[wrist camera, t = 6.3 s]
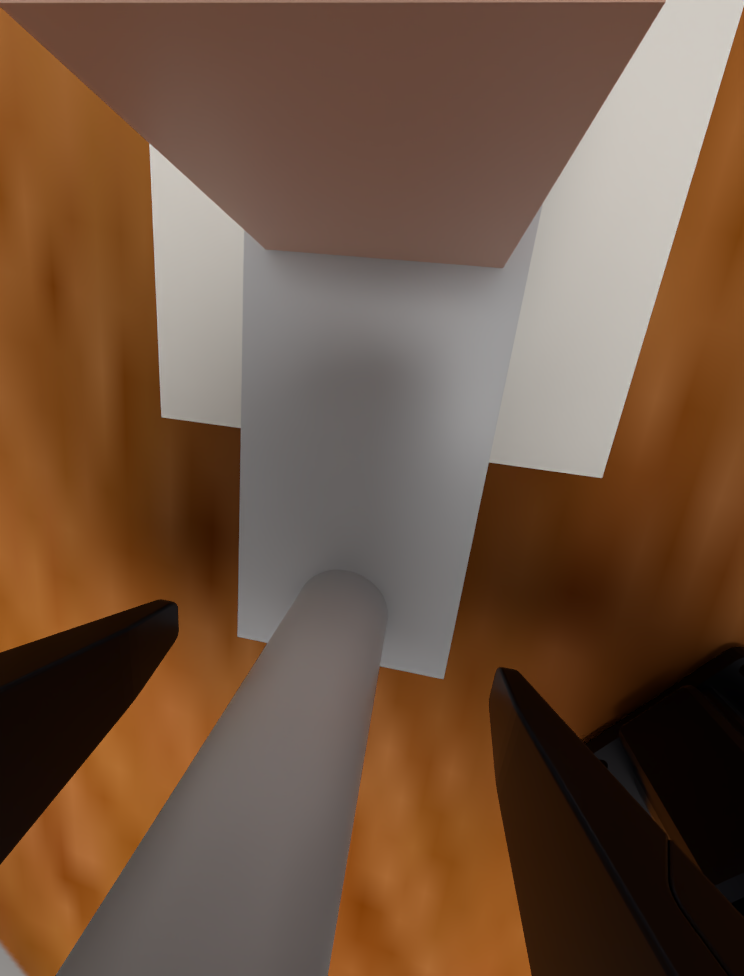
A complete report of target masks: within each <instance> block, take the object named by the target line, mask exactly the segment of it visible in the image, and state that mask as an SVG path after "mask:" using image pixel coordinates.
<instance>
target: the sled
mask: <svg viewBox="0 0 744 976" xmlns="http://www.w3.org/2000/svg"><path fill="white" fill-rule="evenodd" d="M665 2H666V0H0V7H1V8H2V9H3V10H4V11H6V12H7V13H8V14H9V15H10V16H11V17H12V18H13V19H14V20H15V21H16V22H18V23H19V24H20V25H21V26H22V27H23V28H24V29H25V30H26V31H27V32H29V33H30V34H31V35H32V36H33V37H34V38H35V39H36V40H37V41H38V42H39V43H41V44H42V45H43V46H44V47H45V48H46V49H47V50H48V51H49V52H50V53H51V54H53V55H54V56H55V57H56V58H57V59H58V60H59V61H60V62H61V63H62V64H63V65H65V66H66V67H67V68H68V69H69V70H70V71H71V72H72V73H73V74H74V75H75V76H77V77H78V78H79V79H80V80H81V81H82V82H83V83H84V84H85V85H86V86H88V87H89V88H90V89H91V90H92V91H93V92H94V93H95V94H96V95H97V96H98V97H100V98H101V99H102V100H103V101H104V102H105V103H106V104H107V105H108V106H109V107H110V108H112V109H113V110H114V111H115V112H116V113H117V114H118V115H119V116H120V117H121V118H122V119H124V120H125V121H126V122H127V123H128V124H129V125H130V126H131V127H132V128H133V129H135V130H136V131H137V132H138V133H139V134H140V135H141V136H142V137H143V138H144V139H145V140H147V141H148V142H149V143H150V144H151V145H152V146H153V147H154V148H155V149H156V150H157V151H159V152H160V153H161V154H162V155H163V156H164V157H165V158H166V159H167V160H168V161H169V162H171V163H172V164H173V165H174V166H175V167H176V168H177V169H178V170H179V171H180V172H182V173H183V174H184V175H185V176H186V177H187V178H188V179H189V180H190V181H191V182H192V183H194V184H195V185H196V186H197V187H198V188H199V189H200V190H201V191H202V192H203V193H204V194H206V195H207V196H208V197H209V198H210V199H211V200H212V201H213V202H214V203H215V204H216V205H218V206H219V207H220V208H221V209H222V210H223V211H224V212H225V213H226V214H227V215H229V216H230V217H231V218H232V219H233V220H234V221H235V222H236V223H237V224H238V225H239V226H241V227H242V228H243V229H244V263H243V326H242V388H241V451H240V514H239V576H238V637H241V638H246V639H251V640H256V641H261V642H266V643H267V645H266V646H265V648H264V649H263V651H262V653H261V654H260V656H259V657H258V659H257V660H256V662H255V664H254V665H253V667H252V668H251V670H250V671H249V673H248V675H247V676H246V678H245V679H244V681H243V682H242V684H241V686H240V687H239V689H238V690H237V692H236V693H235V695H234V697H233V698H232V700H231V701H230V703H229V704H228V706H227V708H226V709H225V711H224V712H223V714H222V715H221V717H220V719H219V720H218V722H217V723H216V725H215V726H214V728H213V730H212V731H211V733H210V734H209V736H208V737H207V739H206V741H205V742H204V744H203V745H202V747H201V748H200V750H199V752H198V753H197V755H196V756H195V758H194V759H193V761H192V762H191V764H190V766H189V767H188V769H187V770H186V772H185V773H184V775H183V777H182V778H181V780H180V781H179V783H178V784H177V786H176V788H175V789H174V791H173V792H172V794H171V795H170V797H169V799H168V800H167V802H166V803H165V805H164V806H163V808H162V810H161V811H160V813H159V814H158V816H157V817H156V819H155V821H154V822H153V824H152V825H151V827H150V828H149V830H148V832H147V833H146V835H145V836H144V838H143V839H142V841H141V843H140V844H139V846H138V847H137V849H136V850H135V852H134V854H133V855H132V857H131V858H130V860H129V861H128V863H127V864H126V866H125V868H124V869H123V871H122V872H121V874H120V875H119V877H118V879H117V880H116V882H115V883H114V885H113V886H112V888H111V890H110V891H109V893H108V894H107V896H106V897H105V899H104V901H103V902H102V904H101V905H100V907H99V908H98V910H97V912H96V913H95V915H94V916H93V918H92V919H91V921H90V923H89V924H88V926H87V927H86V929H85V930H84V932H83V934H82V935H81V937H80V938H79V940H78V941H77V943H76V945H75V946H74V948H73V949H72V951H71V952H70V954H69V956H68V957H67V959H66V960H65V962H64V963H63V965H62V967H61V968H60V970H59V971H58V973H57V974H56V976H328V970H329V965H330V959H331V953H332V947H333V941H334V935H335V929H336V923H337V917H338V911H339V905H340V899H341V893H342V887H343V881H344V875H345V870H346V864H347V858H348V852H349V846H350V840H351V834H352V828H353V822H354V816H355V810H356V804H357V798H358V792H359V786H360V780H361V774H362V769H363V763H364V757H365V751H366V745H367V739H368V733H369V727H370V721H371V715H372V709H373V703H374V697H375V691H376V685H377V679H378V674H379V668H380V666H382V667H386V668H391V669H396V670H401V671H406V672H411V673H416V674H420V675H425V676H430V677H435V678H440V679H444V675H445V670H446V665H447V660H448V656H449V651H450V646H451V641H452V636H453V632H454V627H455V622H456V617H457V612H458V608H459V603H460V598H461V593H462V588H463V584H464V579H465V574H466V569H467V564H468V560H469V555H470V550H471V545H472V540H473V536H474V531H475V526H476V521H477V516H478V512H479V507H480V502H481V497H482V492H483V488H484V483H485V478H486V473H487V468H488V464H489V459H490V454H491V449H492V444H493V440H494V435H495V430H496V425H497V420H498V416H499V411H500V406H501V401H502V396H503V392H504V387H505V382H506V377H507V372H508V368H509V363H510V358H511V353H512V348H513V344H514V339H515V334H516V329H517V324H518V320H519V315H520V310H521V305H522V300H523V296H524V291H525V286H526V281H527V276H528V272H529V267H530V262H531V257H532V252H533V248H534V243H535V238H536V233H537V228H538V224H539V219H540V214H541V209H542V204H543V202H544V200H545V199H546V197H547V195H548V194H549V192H550V190H551V189H552V187H553V186H554V184H555V182H556V181H557V179H558V177H559V176H560V174H561V172H562V171H563V169H564V167H565V166H566V164H567V163H568V161H569V159H570V158H571V156H572V154H573V153H574V151H575V149H576V148H577V146H578V145H579V143H580V141H581V140H582V138H583V136H584V135H585V133H586V131H587V130H588V128H589V127H590V125H591V123H592V122H593V120H594V118H595V117H596V115H597V113H598V112H599V110H600V108H601V107H602V105H603V104H604V102H605V100H606V99H607V97H608V95H609V94H610V92H611V90H612V89H613V87H614V86H615V84H616V82H617V81H618V79H619V77H620V76H621V74H622V72H623V71H624V69H625V68H626V66H627V64H628V63H629V61H630V59H631V58H632V56H633V54H634V53H635V51H636V50H637V48H638V46H639V45H640V43H641V41H642V40H643V38H644V36H645V35H646V33H647V31H648V30H649V28H650V27H651V25H652V23H653V22H654V20H655V18H656V17H657V15H658V13H659V12H660V10H661V9H662V7H663V5H664V4H665Z"/></svg>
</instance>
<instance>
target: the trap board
mask: <svg viewBox="0 0 744 976" xmlns="http://www.w3.org/2000/svg"><path fill="white" fill-rule="evenodd" d="M743 6H744V0H666V2H665V4H664V5H663V7H662V9H661V10H660V12H659V13H658V15H657V17H656V18H655V20H654V22H653V23H652V25H651V27H650V28H649V30H648V31H647V33H646V35H645V36H644V38H643V40H642V41H641V43H640V45H639V46H638V48H637V50H636V51H635V53H634V54H633V56H632V58H631V59H630V61H629V63H628V64H627V66H626V68H625V69H624V71H623V72H622V74H621V76H620V77H619V79H618V81H617V82H616V84H615V86H614V87H613V89H612V90H611V92H610V94H609V95H608V97H607V99H606V100H605V102H604V104H603V105H602V107H601V108H600V110H599V112H598V113H597V115H596V117H595V118H594V120H593V122H592V123H591V125H590V127H589V128H588V130H587V131H586V133H585V135H584V136H583V138H582V140H581V141H580V143H579V145H578V146H577V148H576V149H575V151H574V153H573V154H572V156H571V158H570V159H569V161H568V163H567V164H566V166H565V167H564V169H563V171H562V172H561V174H560V176H559V177H558V179H557V181H556V182H555V184H554V186H553V187H552V189H551V190H550V192H549V194H548V195H547V197H546V199H545V200H544V202H543V204H542V209H541V214H540V219H539V224H538V228H537V233H536V238H535V243H534V248H533V252H532V257H531V262H530V267H529V272H528V276H527V281H526V286H525V291H524V296H523V300H522V305H521V310H520V315H519V320H518V324H517V329H516V334H515V339H514V344H513V348H512V353H511V358H510V363H509V368H508V372H507V377H506V382H505V387H504V392H503V396H502V401H501V406H500V411H499V416H498V420H497V425H496V430H495V435H494V440H493V444H492V449H491V454H490V459H489V463H496V464H504V465H511V466H518V467H525V468H533V469H540V470H547V471H554V472H561V473H569V474H576V475H583V476H590V477H598V478H602V477H603V473H604V470H605V467H606V463H607V460H608V457H609V453H610V450H611V447H612V443H613V440H614V437H615V433H616V430H617V427H618V423H619V420H620V417H621V413H622V410H623V407H624V403H625V400H626V397H627V393H628V390H629V387H630V383H631V380H632V377H633V373H634V370H635V367H636V363H637V360H638V357H639V353H640V350H641V347H642V343H643V340H644V337H645V333H646V330H647V327H648V323H649V320H650V317H651V313H652V310H653V307H654V303H655V300H656V297H657V293H658V290H659V287H660V283H661V280H662V277H663V273H664V270H665V267H666V263H667V260H668V257H669V253H670V250H671V247H672V243H673V240H674V237H675V233H676V230H677V227H678V223H679V220H680V217H681V213H682V210H683V207H684V203H685V200H686V197H687V193H688V190H689V187H690V183H691V180H692V177H693V173H694V170H695V166H696V163H697V160H698V156H699V153H700V150H701V146H702V143H703V140H704V136H705V133H706V130H707V126H708V123H709V120H710V116H711V113H712V110H713V106H714V103H715V100H716V96H717V93H718V90H719V86H720V83H721V80H722V76H723V73H724V70H725V66H726V63H727V60H728V56H729V53H730V50H731V46H732V43H733V40H734V36H735V33H736V30H737V26H738V23H739V20H740V16H741V13H742V10H743ZM149 145H150V168H151V191H152V214H153V236H154V259H155V282H156V305H157V328H158V351H159V374H160V397H161V417H164V418H171V419H178V420H185V421H193V422H200V423H207V424H214V425H222V426H229V427H236V428H241V388H242V326H243V263H244V229H243V228H242V227H241V226H239V225H238V224H237V223H236V222H235V221H234V220H233V219H232V218H231V217H230V216H229V215H227V214H226V213H225V212H224V211H223V210H222V209H221V208H220V207H219V206H218V205H216V204H215V203H214V202H213V201H212V200H211V199H210V198H209V197H208V196H207V195H206V194H204V193H203V192H202V191H201V190H200V189H199V188H198V187H197V186H196V185H195V184H194V183H192V182H191V181H190V180H189V179H188V178H187V177H186V176H185V175H184V174H183V173H182V172H180V171H179V170H178V169H177V168H176V167H175V166H174V165H173V164H172V163H171V162H169V161H168V160H167V159H166V158H165V157H164V156H163V155H162V154H161V153H160V152H159V151H157V150H156V149H155V148H154V147H153V146H152V145H151V144H150V143H149Z"/></svg>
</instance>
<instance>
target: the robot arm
mask: <svg viewBox="0 0 744 976" xmlns="http://www.w3.org/2000/svg"><path fill="white" fill-rule="evenodd" d="M178 632H179V624H178V606H177V604H176V603H175V602H172V601H167V600H161V599H160V600H156V601H153V602H150V603H147V604H144V605H141V606H138V607H135V608H132V609H129V610H126V611H123V612H120V613H117V614H114V615H111V616H108V617H105V618H102V619H99V620H96V621H93V622H90V623H87V624H84V625H81V626H78V627H75V628H72V629H69V630H66V631H63V632H60V633H57V634H54V635H51V636H48V637H46V638H43V639H40V640H37V641H34V642H31V643H28V644H25V645H22V646H19V647H16V648H13V649H10V650H7V651H4V652H1V653H0V864H1V863H2V862H3V861H4V859H5V858H6V857H7V856H8V855H9V853H10V852H11V851H12V850H13V848H14V847H15V846H16V845H17V844H18V842H19V841H20V840H21V839H22V837H23V836H24V835H25V834H26V833H27V831H28V830H29V829H30V828H31V826H32V825H33V824H34V823H35V822H36V820H37V819H38V818H39V817H40V815H41V814H42V813H43V812H44V811H45V809H46V808H47V807H48V806H49V804H50V803H51V802H52V801H53V800H54V798H55V797H56V796H57V795H58V793H59V792H60V791H61V790H62V789H63V787H64V786H65V785H66V784H67V782H68V781H69V780H70V779H71V778H72V776H73V775H74V774H75V773H76V771H77V770H78V769H79V768H80V767H81V765H82V764H83V763H84V762H85V760H86V759H87V758H88V757H89V756H90V754H91V753H92V752H93V751H94V749H95V748H96V747H97V746H98V744H99V743H100V742H101V741H102V740H103V738H104V737H105V736H106V735H107V733H108V732H109V731H110V730H111V729H112V727H113V726H114V725H115V724H116V722H117V721H118V720H119V719H120V718H121V716H122V715H123V714H124V713H125V711H126V710H127V709H128V708H129V706H130V705H131V704H132V703H133V701H134V700H135V699H136V697H137V696H138V694H139V693H140V692H141V690H142V689H143V687H144V686H145V685H146V683H147V682H148V680H149V679H150V677H151V676H152V674H153V673H154V671H155V670H156V668H157V667H158V666H159V664H160V663H161V661H162V660H163V658H164V657H165V655H166V654H167V652H168V651H169V649H170V648H171V647H172V645H173V644H174V642H175V640H176V638H177V636H178ZM742 665H744V647H734V648H731V649H729V650H726V651H725V652H723V653H722V654H720V655H719V656H717V657H716V658H714V659H713V660H711V661H710V662H708V663H707V664H705V665H704V666H702V667H701V668H699V669H698V670H696V671H695V672H693V673H692V674H690V675H689V676H687V677H686V678H684V679H683V680H681V681H680V682H678V683H677V684H675V685H674V686H672V687H671V688H669V689H668V690H666V691H665V692H663V693H662V694H660V695H659V696H657V697H656V698H654V699H653V700H651V701H650V702H648V703H647V704H645V705H644V706H642V707H641V708H639V709H638V710H636V711H635V712H633V713H632V714H630V715H629V716H627V717H626V718H624V719H623V720H621V721H620V722H618V723H617V724H615V725H614V726H612V727H611V728H609V729H608V730H606V731H605V732H603V733H602V734H600V735H599V736H597V737H596V738H594V739H593V740H591V741H590V742H588V743H587V744H584V743H583V742H582V740H581V739H580V738H579V737H578V736H577V735H576V734H575V733H574V732H573V731H572V730H571V728H570V727H569V726H568V725H567V724H566V723H565V722H564V721H563V720H562V719H561V717H560V716H559V715H558V714H557V713H556V712H555V711H554V710H553V709H552V708H551V706H550V705H549V704H548V703H547V702H546V701H545V700H544V699H543V698H542V697H541V696H540V694H539V693H538V692H537V691H536V690H535V689H534V688H533V687H532V686H531V685H530V683H529V682H528V681H527V680H526V679H525V678H524V677H523V676H522V675H521V674H520V673H519V672H518V671H517V670H514V669H509V668H504V667H499V668H498V669H497V671H496V673H495V677H494V681H493V685H492V689H491V693H490V698H489V712H490V723H491V735H492V746H493V757H494V768H495V778H496V787H497V793H498V799H499V804H500V810H501V815H502V820H503V826H504V831H505V836H506V841H507V847H508V852H509V857H510V863H511V868H512V873H513V879H514V884H515V889H516V894H517V900H518V905H519V910H520V916H521V921H522V926H523V932H524V937H525V942H526V947H527V953H528V958H529V963H530V969H531V974H532V976H744V666H742ZM741 666H742V667H741Z"/></svg>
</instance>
